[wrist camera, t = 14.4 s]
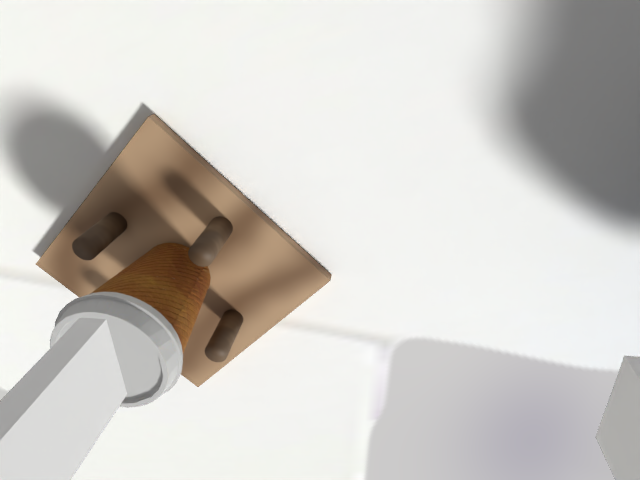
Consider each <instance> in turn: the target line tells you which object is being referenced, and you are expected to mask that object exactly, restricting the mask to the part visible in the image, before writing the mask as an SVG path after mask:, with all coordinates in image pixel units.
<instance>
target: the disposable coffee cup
mask: <svg viewBox="0 0 640 480" xmlns="http://www.w3.org/2000/svg"><path fill="white" fill-rule="evenodd" d="M188 251H189V247H186V246H184V245H182V244H178V243H163V244H159V245H157V246H155V247H153V248H152V249H151V250H150V251H148V252H147V253H145V254H144V255H143V256H141V257H140V258H139V259H137V260H136V261H135V262H133V263H132V264H130V265H129V266H128V267H126V268H125V269H123V270H122V271H121V272H119V273H118V274H117V275H115V276H114V277H113V278H111V279H110V280H108V281H107V282H106V283H104V284H103V285H102V286H100V287H99V288H97V289H96V290H95V291H93V292H92V293H90V294H88V295H85V296H82V297H79V298H76V299H74V300H73V301H71V302H70V303H68V304H67V305H66V306H65V307H64V308H63V309H62V310H61V311H60V313H59V315H58V317H57V319H56V321H55V328H54V330H53V331H52V335H51V339H50V348H51V347H52V346H53V345H54V344H55V343H56V342H57V341H58V340H59V339H60V338H61V337H62V336H63V335H64V334H65V333H66V332H67V331H68V330H69V329H70V328H71V327H72V326H73V324H74V323H75V322H76V321H77V320H78V319H79V318H80V317H81V318H95V319H106V320H107V323H108V327H109V331H110V334H111V338H112V341H113V345H114V349H115V352H116V356H117V359H118V363H119V366H120V370H121V374H122V377H123V381H124V384H125V388H126V392H127V395H126V397H125V398H124V400H123V401H122V403H121V404H120V406H119V407H136V406H142V405H146V404H149V403H151V402H153V401H154V400H156V399H157V398H158V397H159V396H161V395H162V394H164V393H165V392H167V391H169V390H170V389H171V388H172V387H173V386H174V385H175V384H176V382H177V380H178V378H179V376H180V374H181V371H182V366H183V353H184V350H185V348H186V345H187V342H188V340H189V337H190V335H191V333H192V330H193V327H194V324H195V322H196V319H197V317H198V314H199V311H200V309H201V306H202V303H203V301H204V298H205V296H206V293H207V290H208V288H209V286H210V279H211V277H210V272H209V268H208V266H206V267H201V266H197V265H196V264H194V263H193V262H192V261H191V260H190V258H189V255H188Z"/></svg>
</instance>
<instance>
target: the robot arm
mask: <svg viewBox="0 0 640 480" xmlns="http://www.w3.org/2000/svg"><path fill="white" fill-rule="evenodd" d="M126 395H127V392H126V388H125V384H124V381H123V377H122V374H121V370H120V366H119V363H118V359H117V356H116V352H115V349H114V345H113V341H112V338H111V334H110V331H109V327H108V323H107V320H106V319H95V318H81V317H80V318H79V319H78V320H77V321H76V322H75V323H74V324H73V326H72V327H71V328H70V329H69V330H68V331H67V332H66V333H65V334H64V335H63V336H62V337H61V338H60V339H59V340H58V341H57V342H56V343H55V344H54V345H53V346H52V347H51V348H50V349H49V351H48V352H47V353H46V354H45V355H44V356H43V357H42V358H41V359H40V360H39V361H38V362H37V363H36V364H35V365H34V366H33V367H32V368H31V369H30V370H29V371H28V372H27V373H26V374H25V375H24V377H23V378H22V379H21V380H20V381H19V382H18V383H17V384H16V385H15V386H14V387H13V388H12V389H11V390H10V391H9V392H8V393H7V394H6V395H5V396H4V397H3V398H2V399H1V400H0V480H71V479H72V477H73V476H74V474H75V473H76V471H77V470H78V468H79V467H80V465H81V464H82V462H83V461H84V459H85V457H86V456H87V454H88V453H89V451H90V450H91V448H92V447H93V445H94V444H95V442H96V441H97V439H98V438H99V436H100V435H101V433H102V432H103V430H104V429H105V427H106V426H107V424H108V423H109V421H110V420H111V418H112V417H113V415H114V414H115V412H116V410H117V409H118V407H119V406H120V404H121V403H122V401H123V400H124V398H125V397H126ZM596 439H597V441H598V444H599V446H600V448H601V450H602V452H603V454H604V457H605V459H606V461H607V463H608V466H609V468H610V470H611V472H612V474H613V476H614V479H615V480H640V357H634V356H624V358H623V361H622V364H621V367H620V370H619V372H618V375H617V378H616V381H615V384H614V387H613V389H612V392H611V395H610V398H609V401H608V403H607V406H606V409H605V412H604V415H603V417H602V420H601V423H600V426H599V429H598V431H597V435H596Z"/></svg>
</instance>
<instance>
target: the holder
mask: <svg viewBox="0 0 640 480" xmlns="http://www.w3.org/2000/svg"><path fill="white" fill-rule="evenodd" d="M163 243H178V244H182V245H184V246H186V247H189V251H188V255H189V258H190V260H191V261H192V262H193V263H194V264H196V265H197V266H201V267H206V266H208V268H209V272H210V277H211V279H210V286H209V288H208V290H207V293H206V296H205V298H204V301H203V303H202V306H201V309H200V311H199V314H198V317H197V319H196V322H195V324H194V327H193V330H192V333H191V335H190V337H189V340H188V342H187V345H186V348H185V350H184V353H183V366H182V371H181V375H183V376H184V377H185V378H187V379H188V380H189V381H191V382H192V383H193V384H195V385H196V386H197V387H199V386H200V385H201V384H203V383H204V382H205V381H206V380H208V379H209V378H210V377H211V376H213V375H214V374H215V373H216V372H218V371H219V370H220V369H221V368H222V367H224V366H225V365H226V364H227V363H229V362H230V361H231V360H232V359H234V358H235V357H236V356H237V355H239V354H240V353H241V352H242V351H244V350H245V349H246V348H247V347H249V346H250V345H251V344H252V343H254V342H255V341H256V340H257V339H258V338H260V337H261V336H262V335H263V334H265V333H266V332H267V331H268V330H270V329H271V328H272V327H273V326H275V325H276V324H277V323H278V322H280V321H281V320H282V319H283V318H285V317H286V316H287V315H288V314H290V313H291V312H292V311H293V310H294V309H296V308H297V307H298V306H299V305H301V304H302V303H303V302H304V301H306V300H307V299H308V298H309V297H311V296H312V295H313V294H314V293H316V292H317V291H318V290H319V289H321V288H322V287H323V286H324V285H326V284H327V283H328V282H329V281H330V279H331V274H330V273H329V272H328V271H327V270H326V269H325V268H324V267H322V266H321V265H320V264H319V263H318V262H317V261H316V260H315V259H314V258H312V257H311V256H310V255H309V254H308V253H307V252H306V251H305V250H304V249H303V248H301V247H300V246H299V245H298V244H297V243H296V242H295V241H294V240H293V239H292V238H290V237H289V236H288V235H287V234H286V233H285V232H284V231H283V230H282V229H280V228H279V227H278V226H277V225H276V224H275V223H274V222H273V221H272V220H271V219H269V218H268V217H267V216H266V215H265V214H264V213H263V212H262V211H261V210H260V209H258V208H257V207H256V206H255V205H254V204H253V203H252V202H251V201H250V200H248V199H247V198H246V197H245V196H244V195H243V194H242V193H241V192H240V191H239V190H237V189H236V188H235V187H234V186H233V185H232V184H231V183H230V182H229V181H228V180H226V179H225V178H224V177H223V176H222V175H221V174H220V173H219V172H218V171H217V170H215V169H214V168H213V167H212V166H211V165H210V164H209V163H208V162H207V161H205V160H204V159H203V158H202V157H201V156H200V155H199V154H198V153H197V152H196V151H194V150H193V149H192V148H191V147H190V146H189V145H188V144H187V143H186V142H185V141H183V140H182V139H181V138H180V137H179V136H178V135H177V134H176V133H175V132H173V131H172V130H171V129H170V128H169V127H168V126H167V125H166V124H165V123H164V122H162V121H161V120H160V119H159V118H158V117H157V116H156V115H155V114H153V115H151V116H149V117H148V118H147V119H146V120H145V122H144V123H143V124H142V126H141V127H140V128H139V130H138V131H137V132H136V133H135V135H134V136H133V137H132V139H131V140H130V141H129V143H128V144H127V145H126V147H125V148H124V149H123V151H122V152H121V153H120V154H119V156H118V157H117V158H116V160H115V161H114V162H113V164H112V165H111V166H110V168H109V169H108V170H107V171H106V173H105V174H104V175H103V177H102V178H101V179H100V181H99V182H98V183H97V185H96V186H95V187H94V189H93V190H92V191H91V192H90V194H89V195H88V196H87V198H86V199H85V200H84V202H83V203H82V204H81V206H80V207H79V208H78V210H77V211H76V212H75V213H74V215H73V216H72V217H71V219H70V220H69V221H68V223H67V224H66V225H65V227H64V228H63V229H62V230H61V232H60V233H59V234H58V236H57V237H56V238H55V240H54V241H53V242H52V244H51V245H50V246H49V248H48V249H47V250H46V251H45V253H44V254H43V255H42V257H41V258H40V259H39V261H38V262H37V263H36V265H37V266H39V267H40V268H41V269H43V270H44V271H45V272H47V273H48V274H49V275H51V276H52V277H53V278H55V279H56V280H57V281H59V282H60V283H61V284H62V285H64V286H65V287H66V288H68V289H69V290H70V291H72V292H73V293H74V294H76V295H77V296H78V297H82V296H85V295H88V294H90V293H92V292H93V291H95V290H96V289H97V288H99V287H100V286H102V285H103V284H104V283H106V282H107V281H108V280H110V279H111V278H113V277H114V276H115V275H117V274H118V273H119V272H121V271H122V270H123V269H125V268H126V267H128V266H129V265H130V264H132V263H133V262H135V261H136V260H137V259H139V258H140V257H141V256H143V255H144V254H145V253H147V252H148V251H150V250H151V249H152V248H153V247H155V246H157V245H159V244H163Z"/></svg>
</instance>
